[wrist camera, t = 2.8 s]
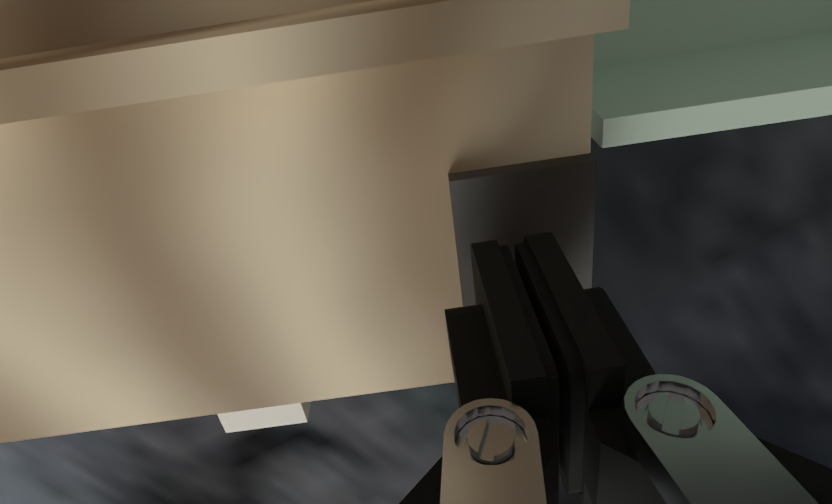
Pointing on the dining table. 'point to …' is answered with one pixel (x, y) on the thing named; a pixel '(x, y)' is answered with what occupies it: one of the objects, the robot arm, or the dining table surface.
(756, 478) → the robot arm
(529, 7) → the beige flat panel
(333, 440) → the dining table surface
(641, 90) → the bin
